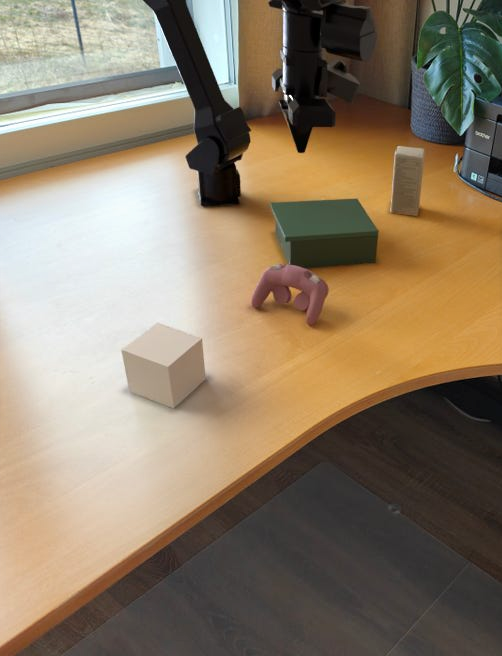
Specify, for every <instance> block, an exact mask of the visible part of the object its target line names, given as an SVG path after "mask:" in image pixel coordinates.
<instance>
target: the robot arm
mask: <svg viewBox="0 0 502 656" xmlns="http://www.w3.org/2000/svg"><path fill="white" fill-rule="evenodd" d="M142 2H143V3H144V4H145V5H146V6H147V7H148V8H150V10H151V11H152V12H153V13H154V15H155V18H156V21H157V22H158V24H159V27H160V29H161V33H162V35H163V38H164V39H165V42H166V45H167V46H168V49H169V51H170V53H171V56H172V58H173V61H174V63H175V65H176V68H177V70H178V72H179V75H180V78H181V79H182V82H183V85H184V87H185V89H186V92H187V94H188V96H189V98H190V101H191V104H192V106H193V109H194V117H193V118H194V119H193V120H194V121H193V132H194V135H195V138H196V142H197V145H195V146H194V147H193V148H192V149H191V150H189V152H188V153H187V154H185V161H186V162H187V165H188V168H189V169H190V170H193V171H196V179H197V189H196V193H197V196H198V199H199V203H200V206H201V207H216V206H217V207H218V206H238V205H239V206H240V204H241V201H240V198H241V197H242V191H241V189H242V187H241V174H240V171H239V170H238V168H237V165H236V162H239V161H241V160H242V159H243V156H244V153H246V152H247V151H248V150H249V146H250V144H251V141H252V140H251V134H250V132H252V128H251V127H250V126H249V125H248V122H247V120H246V117H245V113H244V110H243V108H242V107H241V106H238V107H235V108H234V107H232V105H231V104H229V103H228V101H226V99H225V97H224V96H223V93H222V91H221V88H220V86H219V83H218V80H217V78H216V75H215V72H214V71H213V68H212V65H211V63H210V60H209V57H208V55H207V53H206V50H205V47H204V45H203V42H202V40H201V37H200V34H199V32H198V30H197V27H196V25H195V21H194V20H193V17H192V14H191V12H190V10H189V6H188V4H187V0H142ZM268 6H269V7H270V8H273V9H277V10H278V9H279V10H281V11H282V48H280V49H279V56H280V58H281V60H282V68H276V70H275V71H274V72H272V74H271V87H272V89H273V91H274V93H275V92H278V93H279V91H280V87H281V91H282V93H283V99H278V104H279V106H280V109H281V112H282V114H283V117H284V120H285V122H286V125H287V128H288V130H289V132H290V136H291V138H292V142H293V143H294V147H295V149H296V151H297V153H298V154H305V153H306V150H307V147H308V143H309V140H310V137H311V134H312V131H313V128H334V127H335V126H336V117H337V116H336V115H337V113H336V111H335V109H334V108H333V107H332V105H331V104H330V103H329V101H327V100H326V99H325V98H328V94H329V95H332V96H335V97H336V98H339V99H342V100H344V101H345V103H347V104H351V105H352V104H354V101H355V98H356V96H357V93H358V91H359V88H360V86H361V83H360V82H359V80H358V79H357V78H356V76H354V75H352V74H351V73H350V72H347V68H348V67H347V65H346V64H345V62H344V61H342V60H339V59H337V58H335V59H334V60H333V61H331V62H330V63H328V61H327V59H326V58H325V57H324V55H323V54H324V49H325V51H326V53H328V54H329V55H334V56H338V57H342V58H346V59H350V60H355V61H358V62H363V63H368V62H369V61H370V60H371V58H372V56H373V54H374V52H375V49H376V44H377V39H378V32H377V31H376V23H375V20H374V18H373V17H372V16H373V9H372V7H370V6H366V5H365V6H364V5H353V4H348V3H347V0H269V1H268Z"/></svg>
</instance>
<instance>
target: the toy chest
mask: <svg viewBox="0 0 502 656" xmlns="http://www.w3.org/2000/svg"><path fill="white" fill-rule="evenodd" d="M274 222H275V223H274V225H275V227H274V229H275V231H274V232H275V233H274V234H275V237H276V239H277V241H278V244H279V245H280V248H281V250H282V253H283V255H284V258H285V261H286V262H287V265H295V266H299V267H302V268H305V269H307V270H309V269H319V268H320V269H321V268H331V267H332V268H333V267H343V266H356V265H369V264H376V263H377V254H378V253H377V252H378V245H379V244H378V241H379V235H378V236H364V237H350V238H335V239H320V240H306V241H291V242H285V240H284V238H283V236H282V233H281V231H280V229H279V226H278V224H277V222H276V219H275V218H274Z"/></svg>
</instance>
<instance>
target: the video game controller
mask: <svg viewBox="0 0 502 656" xmlns="http://www.w3.org/2000/svg"><path fill="white" fill-rule="evenodd" d="M290 288H292V289H296V290H298V291H300V292H299V293H297V294H296V295H295V297H294V299H293V305H294V307H295V308H296V309H297V310H299V311H306V316H305V320H306V321H305V322H306V324H307V325H308V326H312V325H314V324H315V323H316V322H317V320H318V319H319V316H320V315H321V312H322V310H323V307H324V305H325V300H326V298H327V297H328V295H329V291H330V289H329V285H328V283H327V282H326V281H325V279H324V278H322V277H319V276H318V275H317V274H316V273H315V272H313V271H311V270H309V269H305V268H302V267H299V266H295V265H288V264H282V263H277V264H274V265H270V266H268V267H267V268H266V269H265V270H264V271H263V273H262V274H261V276H260V278H259V280H258V282H257V284H256V286H255V288H254V291H253V292H252V295H251V300H250V304H251V307H252V308H253V309H258V308H259V307H261V306H262V305H263V304H264V302H266V300H267V299H268V297H269V295H270V294H271V293H272V297H273V299H274V302H275V303H277V304H279V305H285V304H288V303H290V302H291V300H292V291H291V289H290Z"/></svg>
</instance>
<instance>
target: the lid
mask: <svg viewBox="0 0 502 656" xmlns="http://www.w3.org/2000/svg"><path fill="white" fill-rule="evenodd" d="M269 207H270V210H271V212H272V215H273V217H274V220H275V219H276V222H277V224H278V226H279V229H280V231H281V233H282V236H283V238H284V240H285V242H291V241H306V240H320V239H335V238H350V237H364V236H378V237H379V233H380V232H379V231H380V230H379V229H378V228H377V226H376V225H375V223H374V222H373V219H371V217H370V216H369V214H368V212H367V211H366V210H365V208H364V207H363V205H362V203H361V202H360V200H359V199H358V198H338V199H336V198H335V199H318V200H317V199H316V200H299V201H298V200H296V201H295V200H294V201H276V202H273V201H271V202H269Z"/></svg>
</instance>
